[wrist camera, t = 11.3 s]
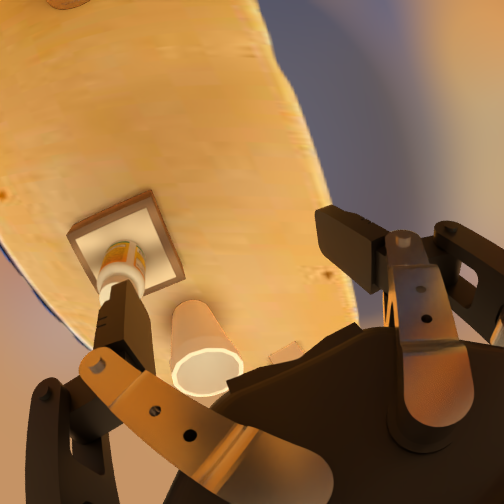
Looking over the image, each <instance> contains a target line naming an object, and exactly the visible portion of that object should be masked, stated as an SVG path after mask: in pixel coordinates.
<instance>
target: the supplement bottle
mask: <svg viewBox="0 0 504 504" xmlns="http://www.w3.org/2000/svg"><path fill="white" fill-rule="evenodd" d="M145 273H146V257H145V254H144V251H143V250H142V248H141V247H140V246H139V245H138V244H136V243H134V242H132V241H128V240H122V241H118V242H115V243H113V244H112V245H111V246H110V247H109V248H108V249H107V251H106V254H105V256H104V259H103V262H102V265H101V268H100V271H99V274H98V278H97V289H98V292H99V301H100V305H101V307H102V305H103V303H104V302H105V301H107V300H109V298H110V292H111V286H112V285H115V284H117V283H120V282H122V281H125V280H127V279H129V280H130V281H131V283H132V284H133V286H134V288H135V290H136V292H137V294H138V296H139V298H140V299H141V298H142V296H143V294H144V291H145Z"/></svg>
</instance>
